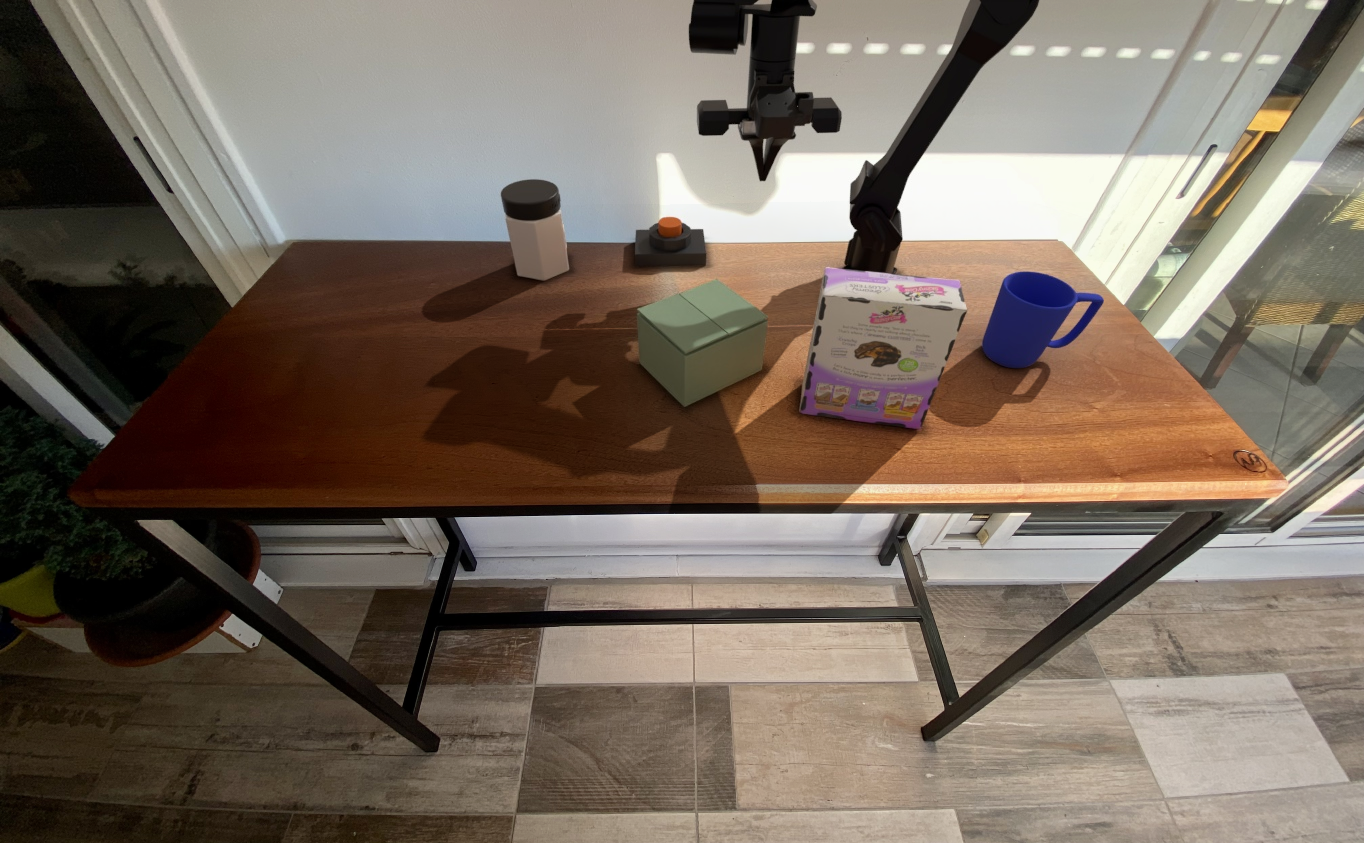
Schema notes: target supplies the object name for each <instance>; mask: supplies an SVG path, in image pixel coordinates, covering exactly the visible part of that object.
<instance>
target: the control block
mask: <svg viewBox="0 0 1364 843" xmlns="http://www.w3.org/2000/svg"><path fill="white" fill-rule="evenodd" d="M705 240H706V239H705V232H704V228H692V227H690V226H689V225H687V224H686V223H684V222H682V232H681V235H679V236H676V237H664V236H661V235H659V231H658V222H656V223H654V224H653V225H651V226H650V227H649V228H648V229H635V240H634V244H635V245H634V266H635V267H699V266H700V267H703V266H704V267H706V265H707V248H706V241H705Z"/></svg>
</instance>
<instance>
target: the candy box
mask: <svg viewBox="0 0 1364 843" xmlns="http://www.w3.org/2000/svg"><path fill="white" fill-rule="evenodd" d="M818 295H819V296H818V300H817V305H816V312H815V317H814V322H813V326H812V332H811V337H810V342H809V347H808V353H807V357H806V362H805V367H804V373H803V378H802V384H801V392H800V394H801V395H800V401H799V413H801V414H803V415H809V416H818V417H827V418H833V419H837V420H848V421H854V422H861V423H869V424H876V425H883V426H884V425H885V426H892V427H894V426H895V427H899V428H907V429H915V430H921V429H922V427H923V425H924V422H925V420H926V418H927V414H928V412H929V409H930V407H931V404H932V401H933V398H934V396H935V393H936V391H937V388H938V385H939V383H940V380H941V378H942V376H943V373H944V370H945V368H946V365H947V362H948V360H949V358H950V356H951V354H952V350H953V347H954V345H955V342H956V340H957V338H958V334H959V332H960V330H961V327H962V325H963V322H964V319H965V317H966V315H967V312H968V307H967V305H966V300H965V297H964V293H963V288H962V286H961V282H960V280H959V279H951V278H950V279H949V278H939V277H926V276H916V275H906V274H896V273H895V274H888V273H878V272H869V271H858V270H848V269H843V268H840V267H839V268H838V267H829V266H825V267H824V270H823V275H822V279H821V285H820V291H819V294H818Z"/></svg>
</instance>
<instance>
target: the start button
mask: <svg viewBox="0 0 1364 843" xmlns="http://www.w3.org/2000/svg"><path fill="white" fill-rule="evenodd" d="M657 223H658V231H659V235H661V236H664V237H676V236H679V235H681V232H682V223H683V222H682V220H681V219H680V218H679V217H677V216H665V217H662V218H659V220H658V221H657Z"/></svg>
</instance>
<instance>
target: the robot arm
mask: <svg viewBox="0 0 1364 843" xmlns="http://www.w3.org/2000/svg"><path fill="white" fill-rule="evenodd" d="M758 1H759V0H693V1H692V6H691V12H690V22H689V23H688V44H689V49H690V52H691V53H692V54H713V55H732V56H733V55H735V56H736V55H737V53H738V50H739V46H741V47H745V46H746V45H747V38H748V31H749V15H751V31H750V32H751V33H750V48H749V64H748V80H747V97H746V107H740V108H739V107H738V108H737V107H735V108H734V107H733V108H729V105H728V102H727V100H726V99H705V100H704V99H703V100H700V101H699V103H697V105H696V125H697V126H696V127H697V131H698V135H700V136H702V137H708V136H709V137H711V136H712V137H714V136H716V137H717V136H724V135H725V134H726V133H727V131H729V130H730V126H731V125H737V130H738V133H739V136H740V139H741V140H742V141H745V142H748V143H749V145H750V148H751V150H752V154H753V158H754V163H755V167H756V172H757V177H758V180H759V182H766V181H767V178H768V176H769V174H770V171H771V170H772V167H773V165H774V162H775V160H776V159H777V157H778V154H779V153H780V152H781V149H782V147H783V146H784V145H785V144H786V143H787V142H788V141H790V140H792V141H793V140H795V139H796V137H797V133H796V132H795V130H796V127H805V126H806V125H810V124H811V125H810V126H811V128H812V129H813V130H814V131H815V133H816V134H835V133H838V132H840V130H841V125H842V118H843V117H842V115H843V114H842V113H843V112H842V111H841V109H840V108H839V106H838V105H837V104H836V101H835V100H834V99H833V98H832V97H831V96H830V97H814V96H815V95H814V92H812V91H799V92H798V91H797V92H796V88H795V65H796V56H797V48H798V38H799V28H800V20H801V19H800V18H801V17H810V18H813V17H814V16H815V15H816V13H817V9H818V4H817V3H816V2H815V1H814V0H771V3H757V2H758ZM1039 4H1040V0H969V1H968V4H967V6H966V9H965V10H964V12H963V15H962V18H961V21H960V24H959V26H958V29H957V32H956V35H955V38H954V41H953V43H952V45H951V48H950V50H949V51H948V53H947V55H946V56H945V58H944V59H943V61H942V63H941V64H940V65H939V68H938V69H937V70H936V72H935V74H934V76H933V77H932V78H931V80H930V82H929V84H928V85H927V87H926V88H925V89H924V91H923V93H922V94H921V96H920V98H919V100H918V101H917V102H916V104H915V107H914V108H913V109H912V111H911V113H910V114H909V115H908V117H907V118H906V120H905V122H904V124H903V125H902V127H901V129H900V130H899V131H898V134H897V135H896V136H895V138H894V140H893V141H892V143H891V145H890V146H889V148H888V149H887V151H886V153H885V154H884V155H883V156H882V157H881V158H880V159H879V160H878V161H876V162H875V163H874V164H873V163H871V161H869V160H867V159H866V160H864V162H863V164H862V166H861V167H862V168H861V170H860V172H859V173H858V175H857V177H856V178H855V179H854V180H853V181H851V182H850V186H849V187H850V188H849V215H848V216H849V217H848V218H849V221H850V225H851V226H852V228H853V229H854V230H855V231H854V232H853V236H852V238H850V239H849V240H848V244H847V247H846V248H847V249H846V252H845V257H844V262H843V263H844V265H845V266H844V267H842V269H848V270H858V271H869V272H878V273H888V274H896V273H897V271H898V268H897V267H895V265H896V261H897V257H898V254H899V251H900V247H901V243H902V242H903V240H904V238H903V226H902V216H901V215H902V214H901V210H900V209H899V205H900V202H901V199H902V197H903V194H904V191H905V188H906V185H907V182H908V179H909V177H910V175H911V174H912V172H913V171H914V169H915V168H916V167H917V165H918V163H919V162H920V160H921V159H922V157H923V156H924V154H925V153H926V151H927V150H928V148H929V147H930V145H931V144H932V142H934V139H935V138H936V136H937V135H938V133H939V132H940V130H942V128H943V126H944V124H945V123H946V122H947V120H948V118H949V117H950V115H951V114H952V113H953V111H954V110H955V108H956V107H957V105H958V103H959V102H960V100H961V99H962V98H963V96H964V94H965V93H966V91H967V90H968V89H969V87H970V85H971V84H972V83H973V81H974V80H975V78H976V76H977V75H978V74H979V72H980V71H981V70H982V68H983V67H985V65H986V64H987V63H989V62H990V61H991V60H992V59H993V58H994V57H995V56H996V55H998V54H999V53H1000V52H1001V51H1002V50H1004V48H1006V47H1007V46H1008V45H1009V44H1010V43H1011V41H1012V40H1013V39H1014V38H1015V37H1016V36H1017V35H1018V34H1019V32H1020V31H1021V30H1022V29H1023V28H1024V27H1025V26H1026V25H1027V23H1028V22H1029V21H1030V20H1031V19H1032V17H1033V16H1034V14H1035V13H1036V10H1037V8H1038V7H1039ZM764 140H765V145H764Z"/></svg>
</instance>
